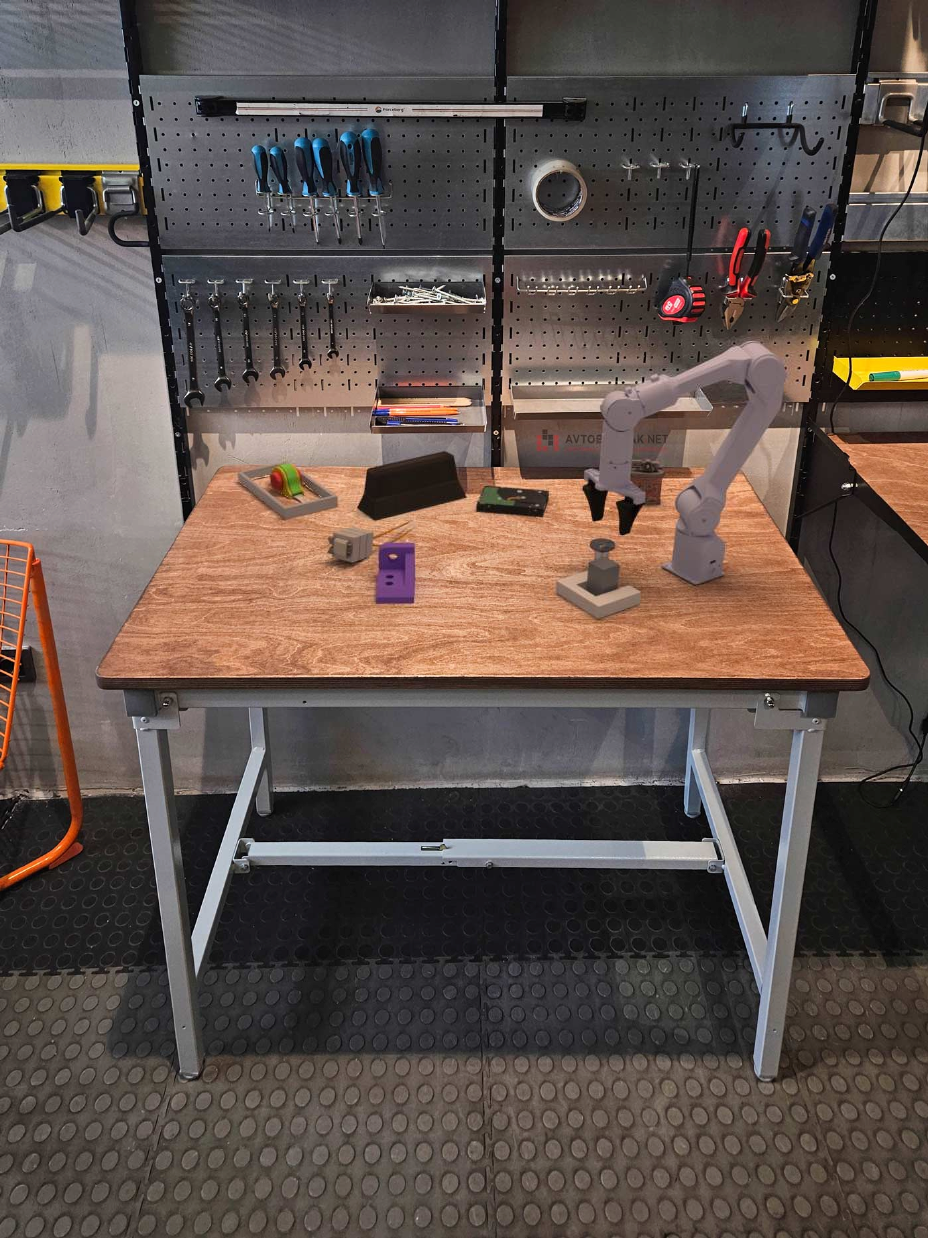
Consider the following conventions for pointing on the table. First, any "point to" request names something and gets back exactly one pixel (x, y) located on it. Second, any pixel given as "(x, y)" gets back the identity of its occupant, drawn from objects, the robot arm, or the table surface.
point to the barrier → (410, 486)
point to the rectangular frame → (324, 503)
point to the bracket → (396, 573)
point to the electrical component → (355, 543)
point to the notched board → (596, 605)
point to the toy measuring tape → (287, 481)
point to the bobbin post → (602, 547)
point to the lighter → (647, 480)
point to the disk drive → (512, 501)
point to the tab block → (602, 576)
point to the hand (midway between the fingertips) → (610, 526)
